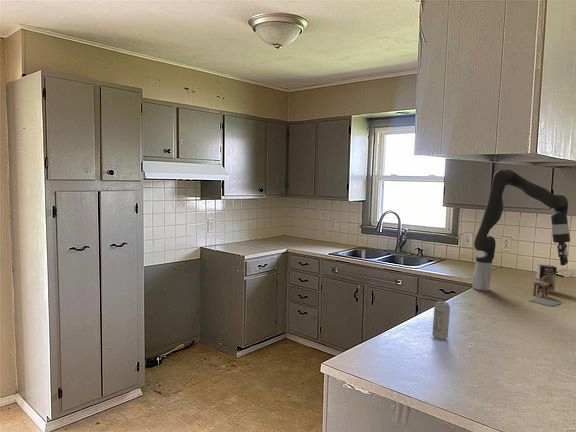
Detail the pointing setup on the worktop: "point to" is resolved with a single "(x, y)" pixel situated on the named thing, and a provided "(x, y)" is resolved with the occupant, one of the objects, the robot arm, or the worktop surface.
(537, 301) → the mat
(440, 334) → the energy drink can
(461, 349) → the worktop surface
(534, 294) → the stool
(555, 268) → the coffee box
